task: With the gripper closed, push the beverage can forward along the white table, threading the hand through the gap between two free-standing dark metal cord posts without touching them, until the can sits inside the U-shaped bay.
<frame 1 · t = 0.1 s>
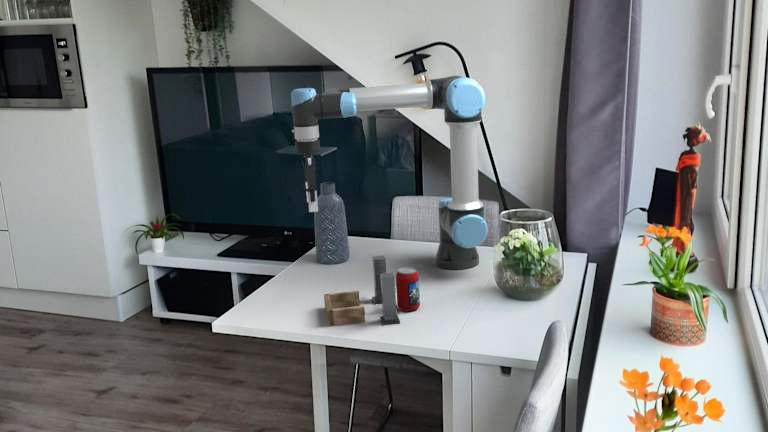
hand: (312, 206, 239), 28 cm above the table, fingers open, 13 cm apart
vase: (333, 259, 277), on the table
post near: (389, 321, 218), on the table
post far: (381, 301, 234), on the table
beverage can: (408, 308, 227), on the table
bay: (345, 315, 225), on the table
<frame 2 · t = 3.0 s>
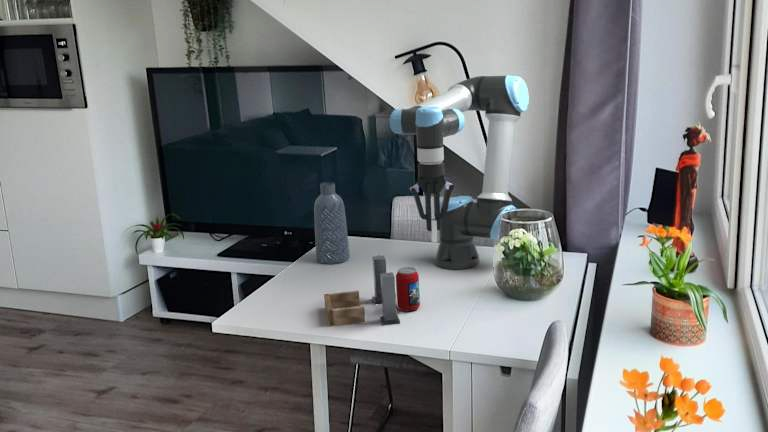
hand: (433, 241, 223), 20 cm above the table, fingers closed
nothing on the table moved.
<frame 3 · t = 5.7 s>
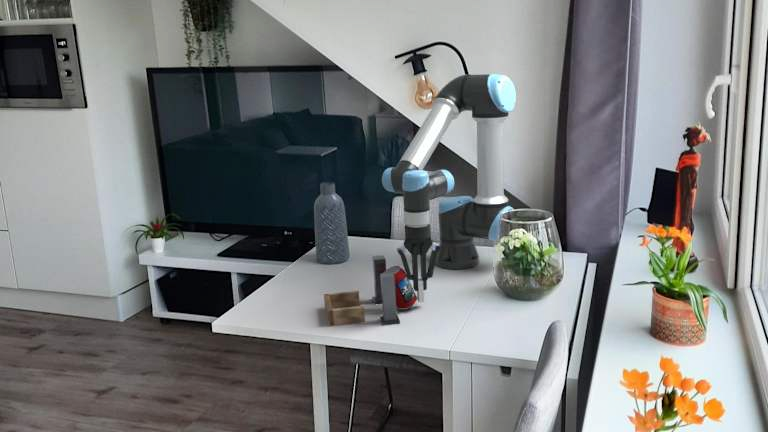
hand: (420, 300, 227), 2 cm above the table, fingers closed
beverage can: (408, 305, 227), point 1 cm above the table, touching gripper
everything else where it was.
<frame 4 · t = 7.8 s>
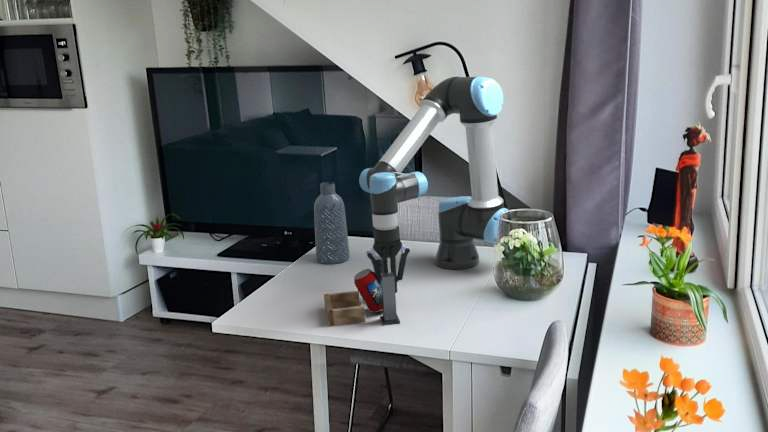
hand: (392, 303, 225), 2 cm above the table, fingers closed
beverage can: (381, 308, 225), point 1 cm above the table, touching gripper, hand
everything else where it was.
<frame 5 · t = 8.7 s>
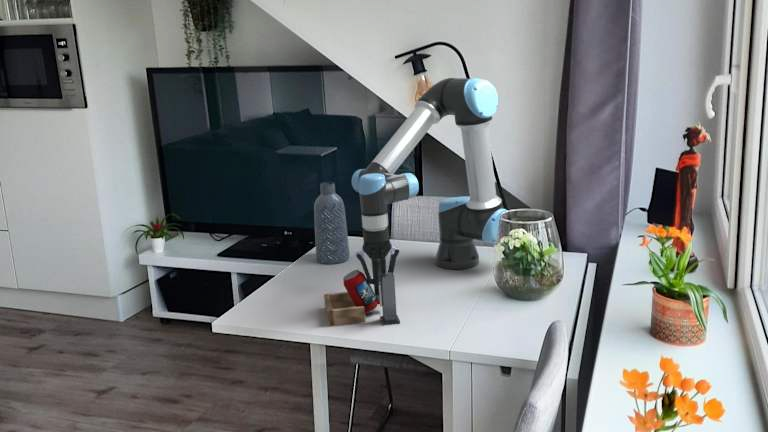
hand: (381, 304, 225), 2 cm above the table, fingers closed
beverage can: (370, 309, 225), point 1 cm above the table, touching gripper, hand
everything else where it was.
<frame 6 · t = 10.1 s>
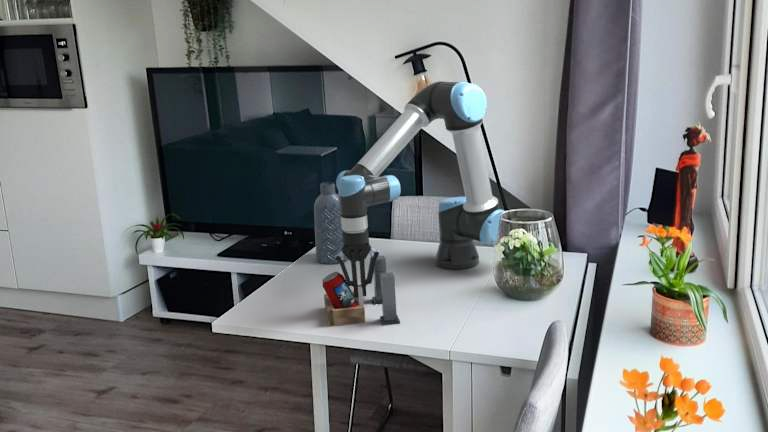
hand: (361, 306, 224), 2 cm above the table, fingers closed
beverage can: (349, 311, 224), point 1 cm above the table, touching gripper, hand
everything else where it was.
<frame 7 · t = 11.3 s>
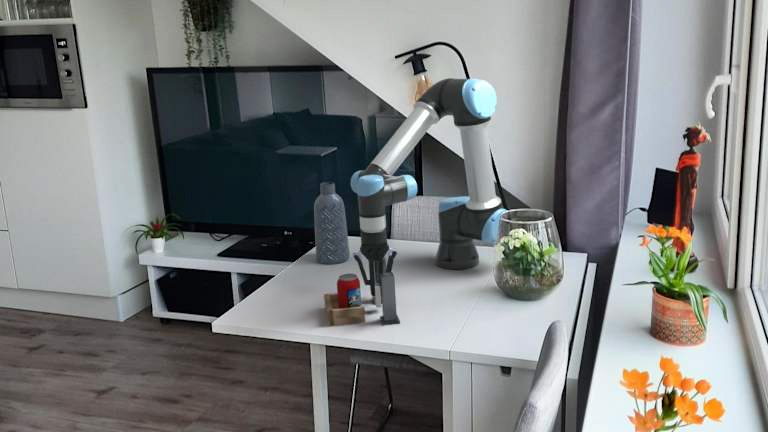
hand: (378, 305, 225), 2 cm above the table, fingers closed
beverage can: (350, 315, 224), on the table
everything else where it was.
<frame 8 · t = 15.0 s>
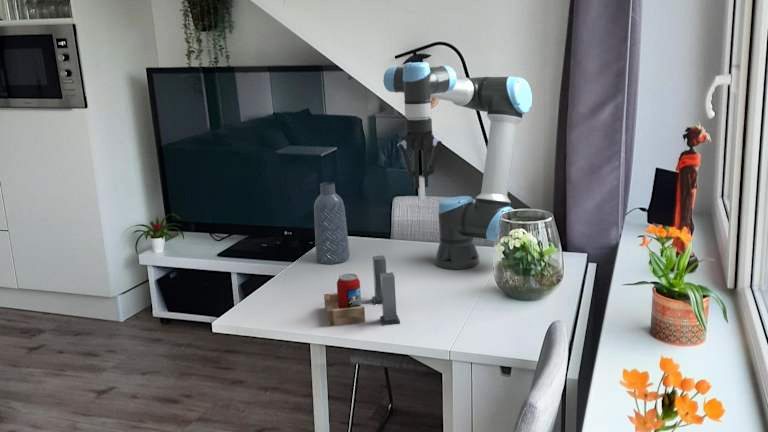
hand: (421, 198, 222), 32 cm above the table, fingers closed
nothing on the table moved.
at the end: beverage can inside the target area on the bay (1.3 cm from its centre), point 0.0 cm above the bay's base; post far moved 0.0 cm from its start; post near moved 0.0 cm from its start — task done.
